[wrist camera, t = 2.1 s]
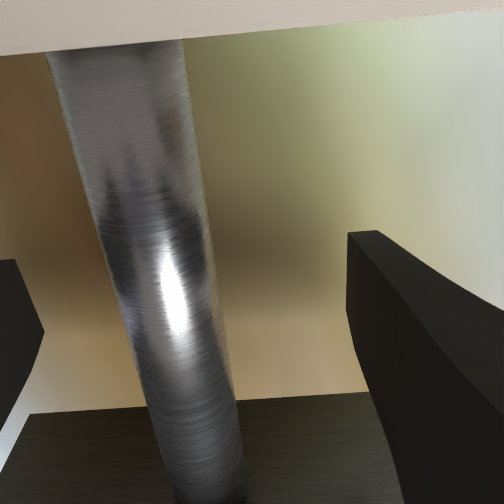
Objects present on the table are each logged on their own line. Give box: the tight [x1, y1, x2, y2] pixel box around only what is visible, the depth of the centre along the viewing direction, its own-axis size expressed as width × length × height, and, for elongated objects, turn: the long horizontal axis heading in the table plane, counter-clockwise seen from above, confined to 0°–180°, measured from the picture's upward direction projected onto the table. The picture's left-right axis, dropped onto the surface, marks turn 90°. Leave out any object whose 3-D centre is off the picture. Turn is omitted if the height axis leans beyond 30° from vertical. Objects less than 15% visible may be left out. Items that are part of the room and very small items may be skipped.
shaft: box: [0, 39, 404, 504], centre depth 8 cm, size 11×18×4 cm, turn 5°
